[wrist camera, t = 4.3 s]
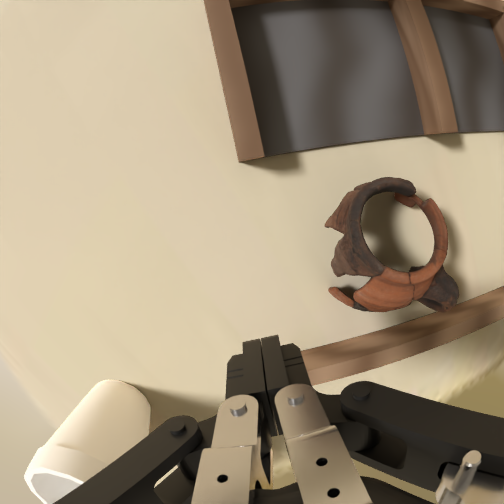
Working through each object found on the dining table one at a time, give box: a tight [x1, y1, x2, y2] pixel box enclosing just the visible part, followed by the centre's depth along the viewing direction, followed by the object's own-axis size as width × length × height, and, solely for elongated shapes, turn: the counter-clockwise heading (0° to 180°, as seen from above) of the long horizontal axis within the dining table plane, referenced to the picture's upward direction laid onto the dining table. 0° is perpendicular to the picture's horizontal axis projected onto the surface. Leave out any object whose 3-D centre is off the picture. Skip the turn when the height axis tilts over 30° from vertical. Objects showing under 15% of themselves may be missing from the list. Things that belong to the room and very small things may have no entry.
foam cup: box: [24, 379, 151, 504], centre depth 21 cm, size 10×9×13 cm
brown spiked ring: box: [325, 177, 459, 313], centre depth 22 cm, size 12×10×8 cm
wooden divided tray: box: [204, 0, 504, 386], centre depth 21 cm, size 38×31×4 cm
